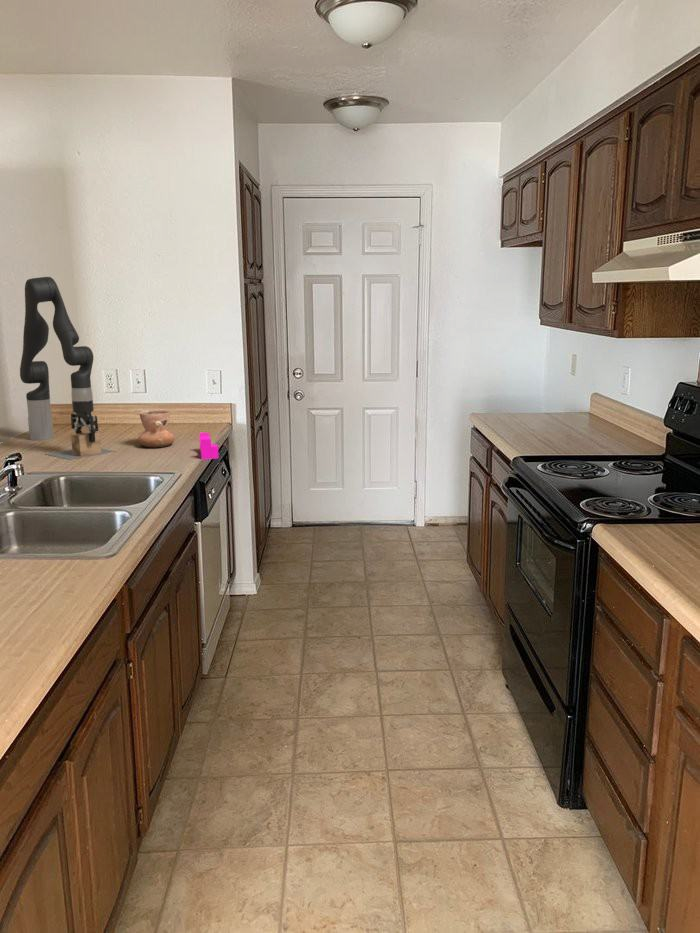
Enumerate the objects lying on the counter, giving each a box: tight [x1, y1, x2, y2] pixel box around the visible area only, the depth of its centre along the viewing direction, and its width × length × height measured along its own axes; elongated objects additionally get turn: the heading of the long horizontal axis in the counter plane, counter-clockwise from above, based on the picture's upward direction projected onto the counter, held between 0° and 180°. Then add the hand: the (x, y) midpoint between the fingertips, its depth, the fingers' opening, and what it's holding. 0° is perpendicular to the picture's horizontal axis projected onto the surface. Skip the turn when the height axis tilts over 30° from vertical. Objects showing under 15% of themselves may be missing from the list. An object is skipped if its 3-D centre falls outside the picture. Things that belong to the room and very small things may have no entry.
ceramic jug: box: [137, 409, 176, 449], centre depth 302 cm, size 18×14×14 cm
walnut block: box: [70, 431, 102, 457], centre depth 286 cm, size 6×9×8 cm, turn 142°
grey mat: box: [44, 448, 116, 461], centre depth 290 cm, size 17×20×1 cm
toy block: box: [198, 432, 219, 460], centre depth 285 cm, size 15×6×8 cm, turn 13°
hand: (85, 441), depth 286 cm, fingers open, 8 cm apart
